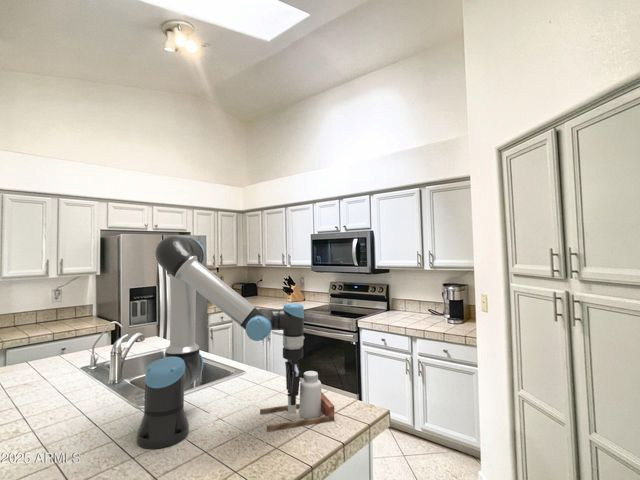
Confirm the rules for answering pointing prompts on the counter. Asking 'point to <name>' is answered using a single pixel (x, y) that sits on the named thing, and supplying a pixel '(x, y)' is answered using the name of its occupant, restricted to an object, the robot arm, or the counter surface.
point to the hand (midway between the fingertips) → (291, 412)
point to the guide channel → (326, 409)
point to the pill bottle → (310, 395)
